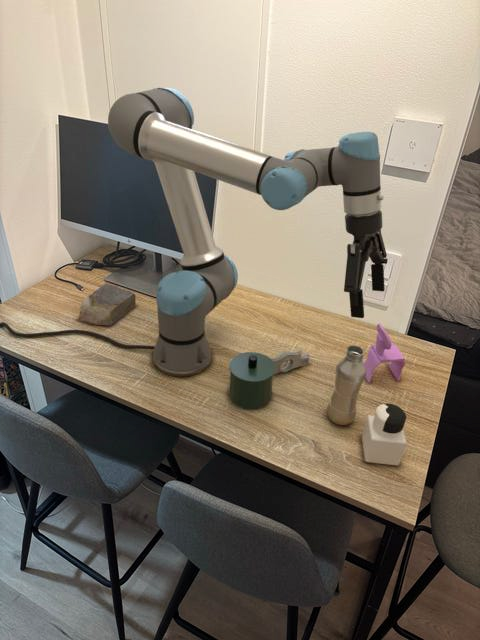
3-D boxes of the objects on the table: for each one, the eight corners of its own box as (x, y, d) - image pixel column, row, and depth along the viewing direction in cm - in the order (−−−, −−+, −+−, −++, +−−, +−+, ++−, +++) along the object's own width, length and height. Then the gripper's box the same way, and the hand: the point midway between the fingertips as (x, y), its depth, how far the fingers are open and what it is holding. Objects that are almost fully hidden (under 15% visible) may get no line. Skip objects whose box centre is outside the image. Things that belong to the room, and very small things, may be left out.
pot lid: (229, 384, 109) (230, 372, 107) (228, 355, 118) (228, 343, 116) (277, 385, 110) (279, 372, 108) (272, 355, 119) (273, 343, 117)
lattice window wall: (306, 361, 130) (309, 343, 127) (309, 364, 129) (312, 347, 126) (267, 372, 126) (269, 354, 122) (270, 376, 124) (272, 358, 121)
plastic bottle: (338, 404, 117) (353, 337, 106) (359, 421, 113) (378, 353, 101) (319, 415, 114) (333, 347, 103) (340, 433, 109) (357, 364, 98)
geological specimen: (136, 290, 147) (107, 312, 135) (137, 307, 150) (108, 330, 138) (107, 281, 150) (75, 302, 138) (107, 298, 153) (77, 320, 141)
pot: (230, 409, 114) (231, 381, 109) (228, 381, 122) (230, 354, 117) (272, 409, 115) (275, 381, 110) (268, 381, 123) (271, 354, 118)
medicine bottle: (393, 440, 108) (406, 401, 101) (399, 466, 102) (413, 426, 96) (361, 437, 109) (372, 397, 102) (364, 462, 103) (376, 422, 96)
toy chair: (402, 383, 125) (417, 336, 116) (370, 385, 123) (382, 337, 115) (390, 363, 132) (403, 317, 123) (359, 364, 130) (370, 318, 122)
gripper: (358, 232, 90) (365, 331, 100) (399, 194, 108) (401, 281, 117) (321, 231, 94) (331, 327, 104) (366, 195, 112) (371, 279, 121)
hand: (368, 303), depth 110 cm, fingers open, 13 cm apart
